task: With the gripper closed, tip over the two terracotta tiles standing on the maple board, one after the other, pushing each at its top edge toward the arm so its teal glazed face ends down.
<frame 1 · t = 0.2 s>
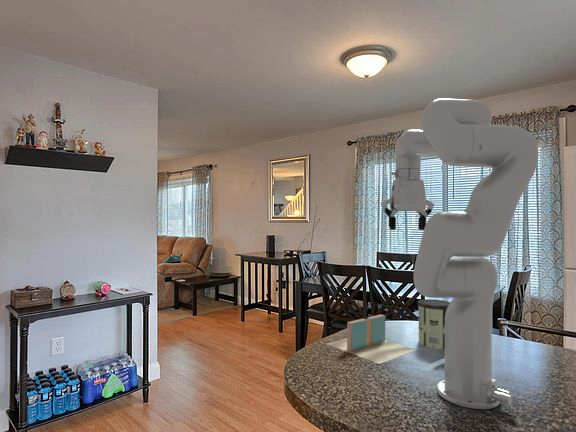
hand: (407, 229, 116), 37 cm above the kitchen counter, tool pointing down, fingers open, 9 cm apart
board: (370, 350, 111), on the kitchen counter
tile left: (357, 347, 111), point 1 cm above the kitchen counter, touching board
coffee can: (435, 348, 115), on the kitchen counter
tile right: (376, 342, 116), point 1 cm above the kitchen counter, touching board
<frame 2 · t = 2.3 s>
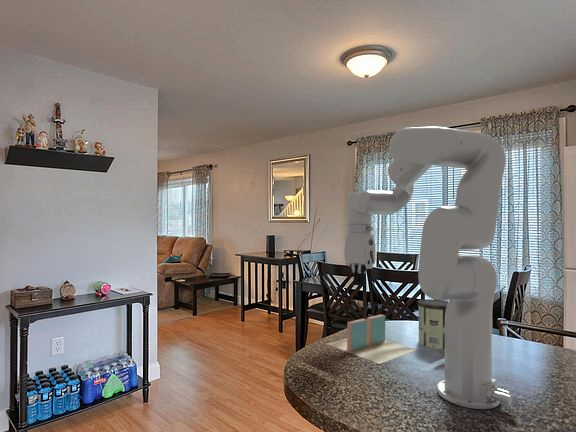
hand: (358, 284, 122), 18 cm above the kitchen counter, tool pointing down, fingers closed
nothing on the kitchen counter moved.
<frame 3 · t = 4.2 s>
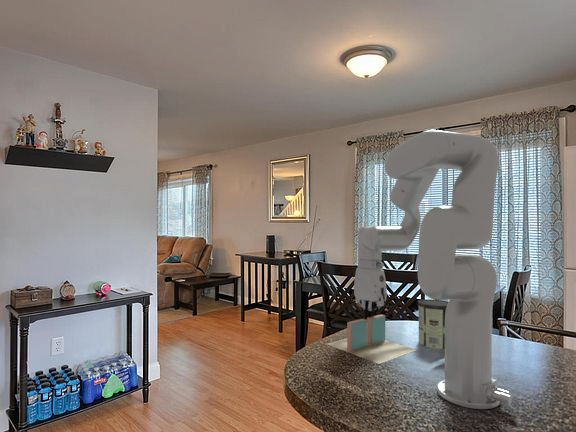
hand: (369, 322, 118), 7 cm above the kitchen counter, tool pointing down, fingers closed
tile right: (376, 342, 116), point 1 cm above the kitchen counter, touching board, gripper
everything else where it was.
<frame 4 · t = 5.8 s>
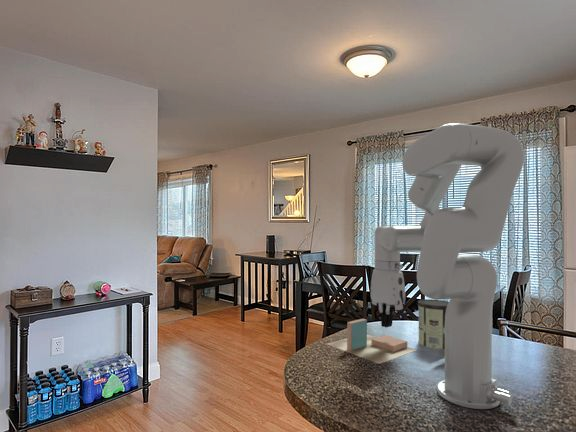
hand: (386, 326, 113), 7 cm above the kitchen counter, tool pointing down, fingers closed
tile right: (378, 339, 115), point 2 cm above the kitchen counter, tilted 90°, touching board
everything else where it was.
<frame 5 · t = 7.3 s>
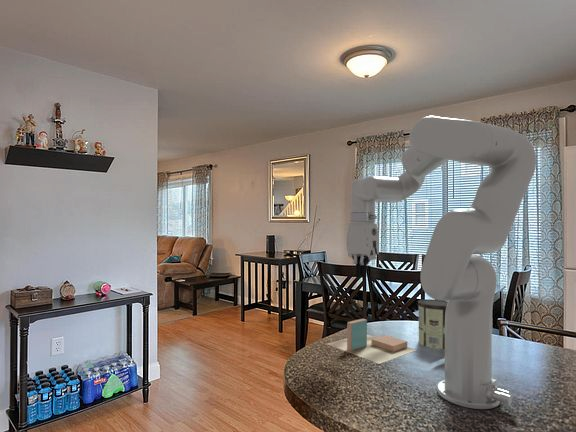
hand: (361, 277, 115), 22 cm above the kitchen counter, tool pointing down, fingers closed
nothing on the kitchen counter moved.
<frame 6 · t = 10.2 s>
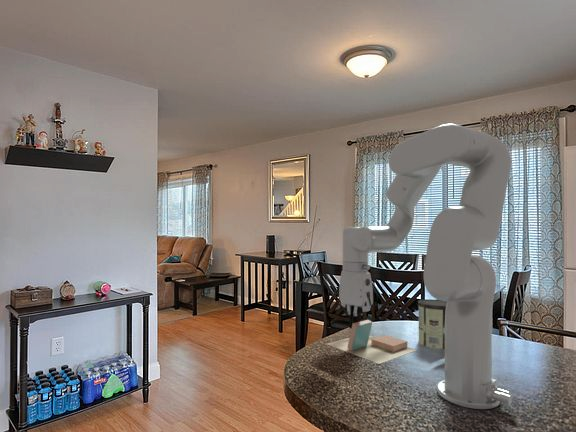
hand: (354, 328, 111), 7 cm above the kitchen counter, tool pointing down, fingers closed
tile left: (357, 347, 111), point 1 cm above the kitchen counter, tilted 15°, touching board
everything else where it was.
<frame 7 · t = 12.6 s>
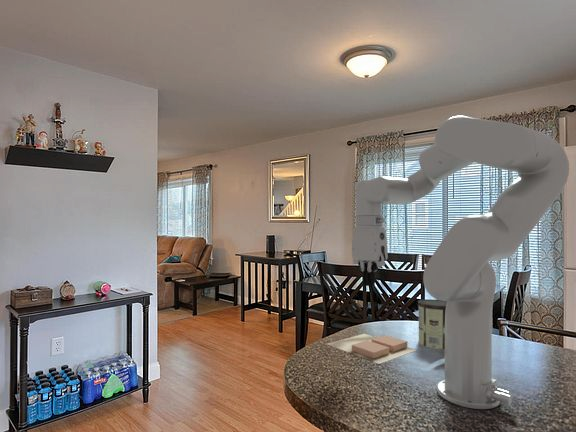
hand: (368, 285, 108), 21 cm above the kitchen counter, tool pointing down, fingers closed
tile left: (359, 345, 110), point 2 cm above the kitchen counter, tilted 90°, touching board
everything else where it was.
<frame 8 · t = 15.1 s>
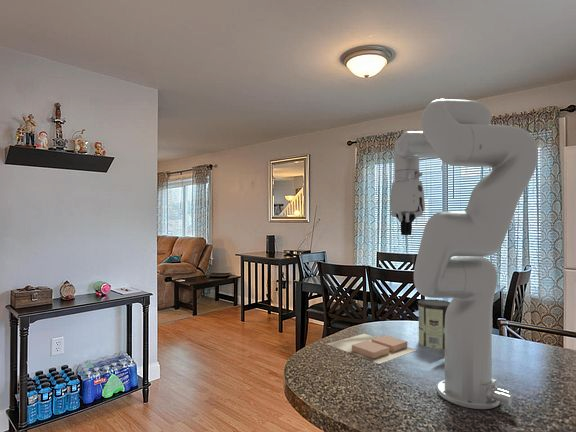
hand: (406, 234, 116), 35 cm above the kitchen counter, tool pointing down, fingers closed
nothing on the kitchen counter moved.
at the end: tile left tilted 90°; tile right tilted 90°; tile left 4.1 cm from the board (horizontally) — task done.
